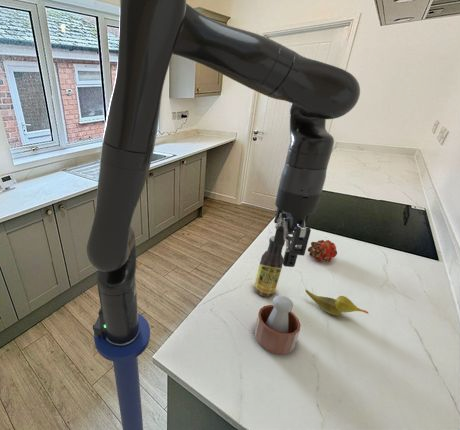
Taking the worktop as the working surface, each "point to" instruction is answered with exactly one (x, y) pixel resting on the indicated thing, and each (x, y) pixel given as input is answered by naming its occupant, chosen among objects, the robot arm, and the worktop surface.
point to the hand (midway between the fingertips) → (282, 254)
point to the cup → (276, 333)
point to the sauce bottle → (269, 269)
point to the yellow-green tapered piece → (335, 304)
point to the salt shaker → (280, 314)
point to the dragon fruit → (322, 250)
